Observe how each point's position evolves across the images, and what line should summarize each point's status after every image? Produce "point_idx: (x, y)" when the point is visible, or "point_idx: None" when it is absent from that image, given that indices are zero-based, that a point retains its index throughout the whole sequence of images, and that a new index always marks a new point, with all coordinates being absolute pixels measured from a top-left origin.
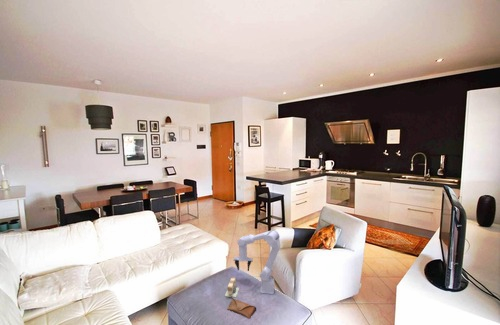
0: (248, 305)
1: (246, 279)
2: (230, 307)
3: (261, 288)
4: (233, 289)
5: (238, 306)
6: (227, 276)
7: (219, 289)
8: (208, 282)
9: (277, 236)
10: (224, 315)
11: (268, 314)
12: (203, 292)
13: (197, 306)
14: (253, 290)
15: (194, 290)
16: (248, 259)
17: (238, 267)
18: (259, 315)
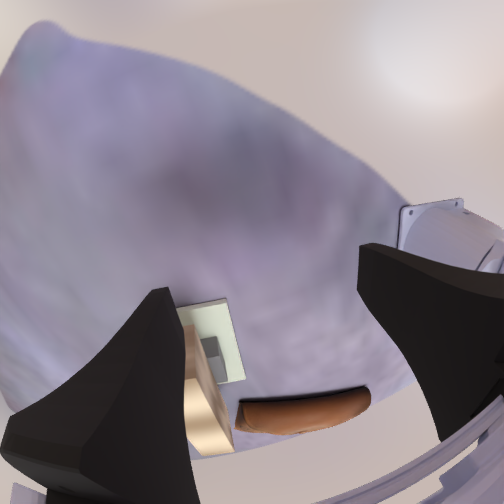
0: (343, 419)
1: (244, 140)
2: (253, 432)
3: (402, 246)
4: (217, 388)
5: (295, 432)
6: (33, 172)
7: (92, 348)
8: None
9: None
10: (240, 442)
11: (406, 374)
12: (46, 380)
13: None
14: (348, 277)
15: (8, 372)
16: None
17: (176, 365)
18: (376, 392)
